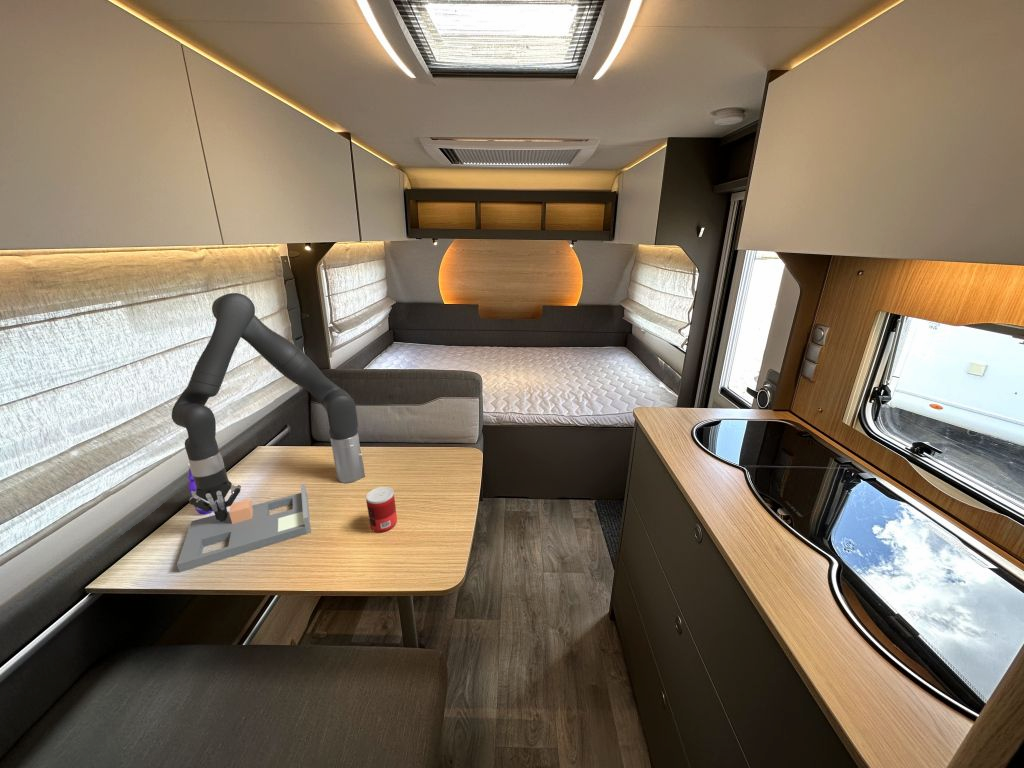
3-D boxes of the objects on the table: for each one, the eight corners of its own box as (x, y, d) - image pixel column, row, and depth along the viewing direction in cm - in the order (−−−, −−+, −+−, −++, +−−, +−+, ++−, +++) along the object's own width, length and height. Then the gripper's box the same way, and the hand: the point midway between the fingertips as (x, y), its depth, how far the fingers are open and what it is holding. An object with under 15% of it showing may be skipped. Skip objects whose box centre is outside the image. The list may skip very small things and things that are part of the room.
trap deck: (307, 497, 135) (304, 483, 133) (311, 532, 118) (307, 517, 116) (193, 527, 121) (188, 512, 119) (179, 572, 104) (173, 555, 102)
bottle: (207, 517, 125) (192, 468, 120) (192, 514, 127) (177, 467, 121) (227, 503, 132) (214, 457, 127) (213, 501, 133) (199, 455, 128)
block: (253, 509, 125) (250, 498, 123) (251, 518, 121) (248, 507, 119) (234, 514, 122) (230, 503, 121) (232, 523, 118) (229, 512, 117)
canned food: (402, 519, 124) (398, 488, 120) (386, 535, 116) (382, 504, 113) (381, 514, 126) (377, 484, 122) (365, 530, 119) (360, 499, 115)
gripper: (237, 457, 120) (249, 506, 125) (182, 468, 114) (198, 519, 119) (234, 468, 114) (247, 519, 119) (176, 481, 108) (193, 534, 113)
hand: (222, 519), depth 119 cm, fingers closed
